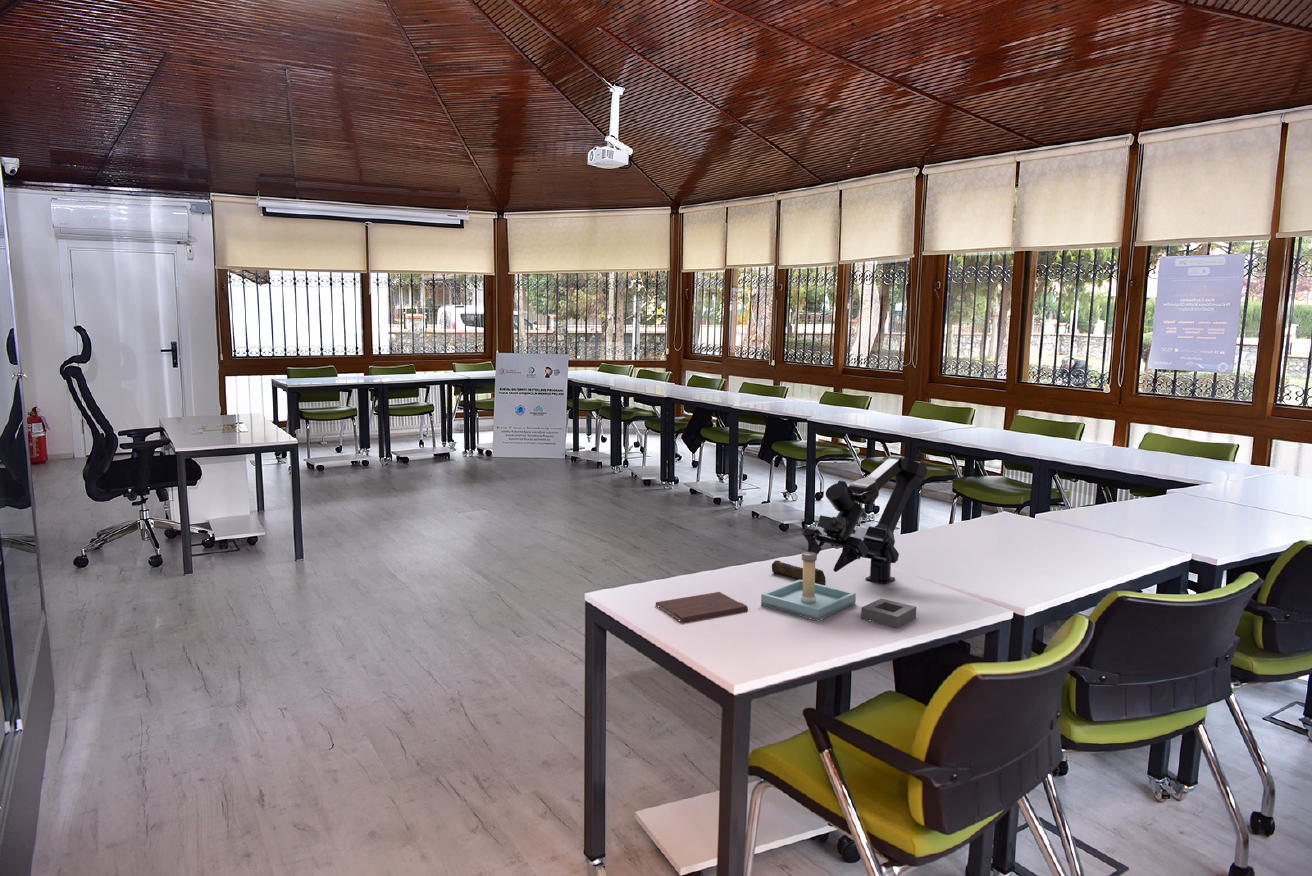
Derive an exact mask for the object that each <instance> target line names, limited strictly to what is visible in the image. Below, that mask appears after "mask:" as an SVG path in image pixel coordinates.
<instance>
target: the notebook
mask: <svg viewBox="0 0 1312 876" xmlns="http://www.w3.org/2000/svg"><path fill="white" fill-rule="evenodd" d="M657 606H659V607H660V608H661V609H660V608H659V607H658V608H659V609H660V610H662V611H663V610H664V612H665V611H666V612H667V613H666V612H665V613H666V614H668V613H669V614H670V615H669V614H668V615H669V616H671V615H672V616H673V617H672V616H671V617H672V618H674V617H675V618H676V619H675V618H674V619H675V620H677V621H678V620H680V621H681V622H682V623H681V622H680V621H679V622H680V623H681V624H685V623H690V621H691V622H695V621H700V620H706V619H713V618H718V617H722V616H724V617H725V616H728V615H733V614H740V613H744V612H745V611H746V612H748V611H749V609H748V606H747V605H746V604H744V603H743V602H739V601H737V600H736V599H734V598H732V597H729V595H727V594H724V593H723V592H721V591H715V592H711V593H710V592H708V593H704V594H699V595H692V596H686V597H679V598H673V599H668V600H660V601H656V602H655V607H657ZM746 612H745V613H746ZM684 622H685V623H684Z"/></svg>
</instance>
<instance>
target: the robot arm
mask: <svg viewBox="0 0 1312 876" xmlns="http://www.w3.org/2000/svg"><path fill="white" fill-rule="evenodd" d="M927 474H928V467H927V466H926V465H925V462H923V461H918V460H917V461H916V460H912V459H909V458H907V457H905V456H904V455H897V454H891V455H888V457H887V459H886V460H885V461H884V462H883V463H882V464H880V465H879V466H878V467H877V468H876V469H875V470H873V471H872V472H871V473H870V474H869V475H868V476H866V477H863V478H859V479H856V480H854V481H853V482H851V483H850V484H849V485H848V483H847V482H846V481H845V480H838V481H837V483H833V484H831V485H830V486H829V487H828V488H827V489H826V491H825V497H826V499H827V500H828V501H829V503H830V504H831V506H832V507H833V508H834V509H835V510H836V511H837V512H838V514H837V515H836V516H832V517H831V516H825V515H822V514H821V515H819V518H818V521H817V525H816V526H817V527H819V528H822V529H823V530H822V531H823V533H824V534H826V535H824V534H822V532H821V531H820V530H819V529H818V528H814V527H810V526H809V527H805V529H803V531H802V535H803V537H804V539H805V540H806V542H807V544H808V545H807V552H814V553H816V554H817V556H818V555H819V553H821V551H822V547H823V546H824V545H825V544H829V545H833V546H837V547H841V549H842V551H841V553H840V555H839V557H838V559H837V561H836V563H835V565H834V567H833V571H834V572H835V573H836V572H837V573H838V571H840V570H842V569H843V568H845V567H846V566H848V565H849V564H851V563H852V562H854V561H856V560H860V559H861V558H862V559H870V569H869V576H867V577H864V578H865V580H867V581H870V582H875V583H879V584H883V585H885V584H888V583H890V582H892V581H894V580H896V577H894V576H891V575H892V574H891V571H892V570H891V569H892V564H895V563H896V562H898V561H899V556H900V553H899V552H898V550H897V549H896V547H895V545H896V544H895V542H896V540H895V539H896V538H895V535H894V532H895V530H896V527H897V526H898V522H899V521H900V518H901V516H902V514H903V512H904V509H905V507H906V505H907V503H908V500H909V498H910V496H911V494H912V492H913V491H914V490H915V489H917V488H918V487H920V486H921V485H922V483H923V482H924V480H925V479H926V476H927ZM894 477H895V478H894ZM893 478H894V479H895V486H894V488H893V490H892V492H891V494H890V497H889V499H888V501H887V503H886V505H885V508H884V509H883V512H882V514H881V517H880V518H879V521H878V523H877V525H874V526H870V525H869V526H868V528H867V529H866V532H865V535H864V536H863V537H862V538H863V540H862V539H861V538H858V537H853V536H852V534H853V535H855V534H856V532H857V530H856V529H855V528H856V526H857V525H858V522H859V521H860V519H861V518H867V513H866V509H865V507H862V506H861V505H866V506H871V505H872V504H873V503H874V502H875V501H876V500H877V499H878V497H879V496H880V490H881V489H882V488H883V487H884V486H886V484H888V483H889V482H890V481H891V480H892V479H893Z"/></svg>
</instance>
